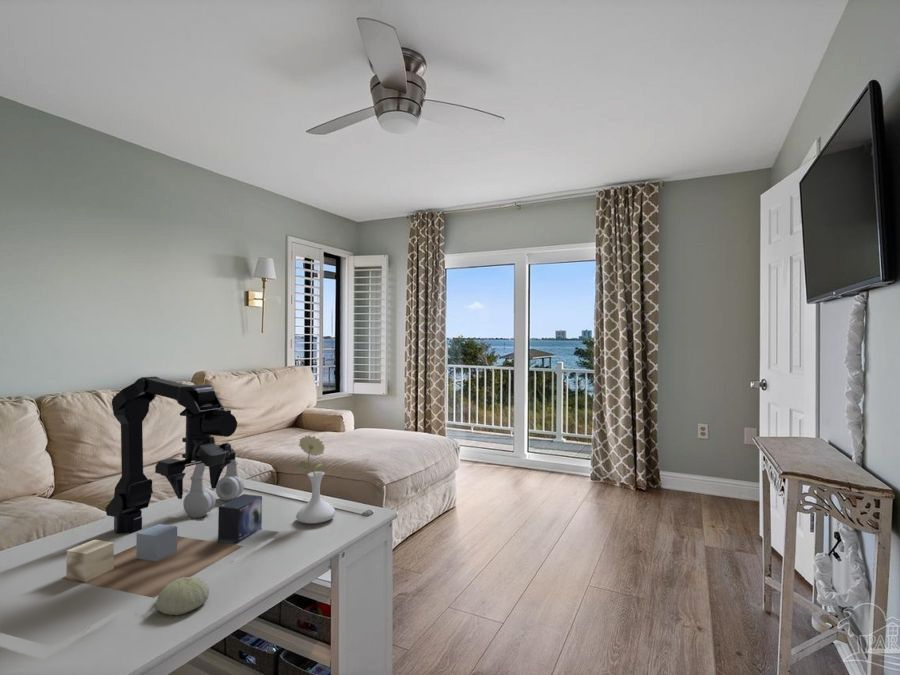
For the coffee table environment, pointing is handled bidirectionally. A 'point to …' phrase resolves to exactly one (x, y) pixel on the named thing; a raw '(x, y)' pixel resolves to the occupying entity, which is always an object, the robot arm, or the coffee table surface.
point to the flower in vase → (314, 486)
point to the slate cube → (156, 542)
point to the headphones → (204, 498)
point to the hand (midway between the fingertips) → (197, 493)
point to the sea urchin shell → (182, 596)
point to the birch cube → (90, 560)
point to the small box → (239, 518)
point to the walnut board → (160, 567)
